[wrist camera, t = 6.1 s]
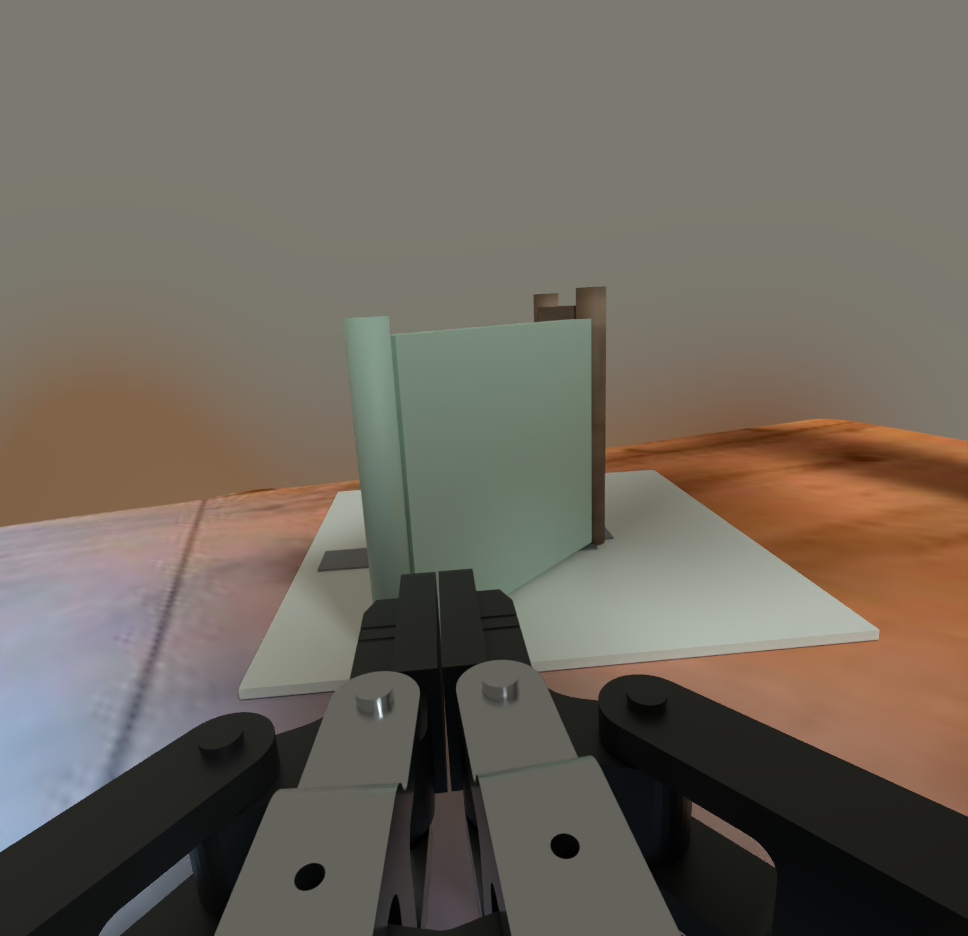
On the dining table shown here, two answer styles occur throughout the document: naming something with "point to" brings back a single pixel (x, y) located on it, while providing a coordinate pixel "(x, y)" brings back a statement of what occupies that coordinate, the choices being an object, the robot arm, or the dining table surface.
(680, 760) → the robot arm
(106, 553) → the dining table surface
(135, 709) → the dining table surface
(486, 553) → the fence gate
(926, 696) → the dining table surface
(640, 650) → the card
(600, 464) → the fence fixed
